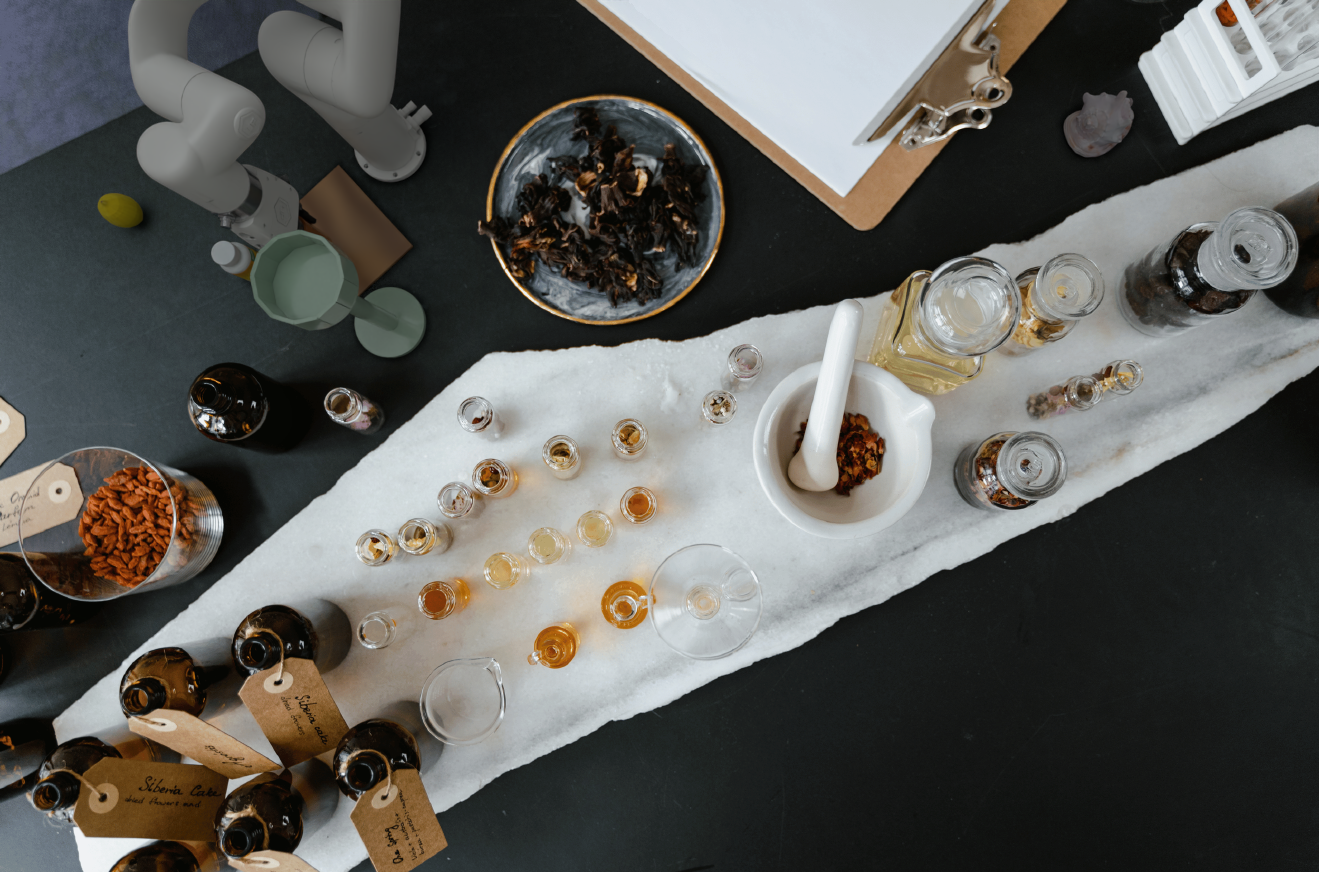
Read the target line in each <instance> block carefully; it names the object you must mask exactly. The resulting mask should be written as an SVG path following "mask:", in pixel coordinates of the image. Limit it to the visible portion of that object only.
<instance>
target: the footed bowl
mask: <svg viewBox="0 0 1319 872" xmlns="http://www.w3.org/2000/svg"><path fill="white" fill-rule="evenodd" d="M257 252H259V253H257V255H256V258H255V261H254V264H253V267H252V270H251V273H250V275H251V276H250V280H251V282H250V284H251V289H252V294H253V299H254V301H255V302H256V303H257V304H258V306H260V308H261V309H262V310H263V311H264V312H265V314H267V316H269V318H271V319H273V320H276V321H279V322H281V323H284V324H287V325H289V326H293V327H296V328H298V329H299V328H300V329H303V330H306V331H319V330H325V329H329V328H331V327H333V326H335V325H338V323H341V322H342V321H343V320H345V318H346V317H347V316H348V315H351V316H353V317H354V330H355V335H356V337H357V339H358V341H359V343H360V344H361V345H362V347H363V348H364V349H365V350H367V351H368V352H369V353H371V354H373V355H375V356H377V357H381V358H385V359H396V358H400V357H405V356H406V355H408V354H410V353H412V351H414V350H415V349H416V348H417V347H418V346H419V345H420V343H421V342H422V340H423V338H424V336H425V333H426V329H427V317H426V312H425V310H424V309H425V308H424V307H423V305H422V303H421V302H420V301H419V299H418V298H417V297H416V296H415V295H414V294H412V293H411V292H409V291H407V290H406V289H402V288H400V287H395V286H394V287H393V286H385V287H381V288H378V289H376V290H373V291H372V292H370V293H368V295H366V296H365V297H364V298H363V296H361V295H360V296H358V291H359V279H358V274H357V270H356V268H355V266H354V264H353V262H352V260H351V259H350V258H349V257H348V255H346V254H345V253H344V252H343V251H342V250H341V249H340V247H338V246H337V245H335V244H334V243H332V242H331V241H329V240H327V239H326V238H324V237H323V236H320V235H316V234H313V233H310V232H306V231H303V230H296V231H292V232H287V233H283V234H279V235H277V236H275V237H273V238H272V239H271V240H270V241H269V242H268V243H267V244H266V245H265V246H264V247H263V248H261V249H258V251H257Z"/></svg>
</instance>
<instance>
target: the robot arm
mask: <svg viewBox="0 0 1319 872" xmlns="http://www.w3.org/2000/svg"><path fill="white" fill-rule="evenodd" d="M209 1H210V0H134V2H133V4H132V5H131V9H130V11H129V15H128V22H127V40H128V41H127V42H128V56H129V57H128V59H129V69H130V75H131V78H132V83H133V86H134V89H135V92H136V93H137V95H138V97H139V98H140V100H141V102H142V103H143V104H144V105H145V106H146V107H147V108H148V109H149V110H150V111H152V112H153V113H154V114H156V115H158V116H160V117H162V118H164V119H166V120H168V121H161V122H158V123H157V122H156V123H154V124H152V125H150V126H149V127H148V128H146V129H145V130H144V131H143V132H142V134H141V135H140V136H139V139H138V141H137V144H136V159H137V162H138V164H139V166H140V167H141V169H142V170H143V172H144V173H145V174H146V175H147V176H148V177H149V178H150V179H152V180H153V181H155V182H156V183H158V184H160V185H162V186H164V187H165V188H167V189H169V190H170V191H172V192H174V193H176V194H178V195H180V196H181V197H184V198H185V199H187V200H189V201H190V202H193V203H194V204H196V205H198V206H200V207H202V208H203V209H205V210H207V211H208V212H210V214H211V215H213V216H215V217H217V219H218V220H219V222H220V225H219V226H220V228H221V229H225V230H230V231H232V232H233V234H235V235H236V236H238V237H239V238H240V239H242V240H243V241H244V242H246V243H248V244H249V245H250V246H253V247H254V248H256V249H258V250H260V249H261V248H263V247H264V246H265V245H266V244H267V243H268V242H269V241H270V240H271V239H272V238H273V237H275V236H277V235H279V234H283V233H287V232H292V231H296V230H297V227H298V215H299V216H300V217H302V218H303V219H305V220H306V221H308V222H309V223H311V224H315V223H316V220H317V219H315V218H314V217H312V216H311V215H310V214H309V213H308V212H307V211H306V210H304V209H303V208H302V204H301V203H300V202H299V201H300V196H299V193H298V191H297V189H296V188H295V187H293V185H291V182H290V179H289V176H288V174H287V173H277V174H273V173H271V172H268V171H266V170H264V169H262V168H259V167H257V166H254V165H252V164H248V163H244V164H243V163H242V164H241V163H240V162H239V161H237V159H239V157H241V156H242V155H243V154H244V152H246V150H248V148H249V147H251V145H252V144H253V143H254V142H255V141H256V140H257V138H258V137H259V135H261V133H262V130H263V129H264V126H265V122H266V109H265V106H264V103H263V102H262V100H261V99H260V98H259V96H257V94H255V93H254V92H253V91H252V90H250V89H248V88H247V87H245V86H244V85H241V84H240V83H239V84H238V83H237V82H235V81H233V80H230V79H228V78H226V77H224V76H222V75H219V74H217V73H215V72H214V71H211V70H209V69H208V68H204V67H203V66H201V65H198V64H196V63H194V62H192V61H190V60H189V53H188V52H189V51H188V35H189V28H190V25H191V24H190V23H191V21H192V19H193V17H194V15H195V13H196V12H197V10H198V9H199V8H200V7H202V5H203V4H205V3H207V2H209ZM295 1H296V2H297V3H300V4H302V5H303V6H305V7H307V8H310V9H312V10H313V11H316V12H318V13H320V14H323V15H324V16H327V17H329V18H331V19H333V20H334V21H337V22H339V23H341V25H342V26H341V27H342V30H341V29H339V28H338V27H335V26H333V25H331V24H329V23H326V22H325V21H322V20H320V19H318V18H316V17H313V16H310V15H308V14H306V13H303V12H299V11H295V10H278V11H275V12H273V13H271V14H269V15H268V16H267V17H266V18H265V19H264V20H263V21H262V23H261V25H260V27H259V30H258V34H257V46H258V47H257V48H258V51H259V52H258V53H259V56H260V58H261V60H262V63H263V64H264V66H265V68H266V70H268V72H269V74H270V75H271V76H272V77H273V78H274V79H275V80H276V81H277V82H278V83H279V84H280V85H282V86H283V87H284V88H285V89H287V90H288V91H289V92H290V93H292V94H293V95H295V96H296V97H297V98H298V99H300V100H301V101H302V102H304V103H306V105H308V106H309V107H310V109H312V110H314V112H315V113H317V114H318V115H319V116H320V117H321V118H322V119H323V120H324V121H325V122H326V123H327V124H328V125H329V126H330V127H331V128H332V129H333V130H334V131H335V132H336V133H337V134H339V135H340V136H341V137H342V139H343V140H344V141H346V143H348V145H350V146H351V147H352V148H353V149H354V155H355V159H356V161H357V164H359V166H360V168H361V169H362V170H363V171H364V173H366V174H367V175H369V176H370V177H371V178H373V179H375V180H377V181H380V182H383V183H396V182H400V181H403V180H406V179H407V178H409V177H411V176H412V175H413V174H415V173H416V172H417V171H418V170H419V168H420V167H421V166H422V164H423V162H424V160H425V157H426V153H427V141H426V135H425V134H424V131H423V129H422V128H421V125H422V124H423V123H424V122H426V121H427V120H428V119H429V118H430V117H432V116H433V113H432V111H431V110H430V109H429V107H428V106H427V105H426V104H424V105H422V106H421V107H419V109H418V110H416V109H417V108H418V106H417V104H415V103H414V102H413V101H412V100H410V101H409V102H408V103H406V104H405V106H404V107H403V108H399V109H397V108H396V107H395V106H394V105H393V104H391V100H392V97H393V93H394V88H395V83H396V82H395V81H396V72H397V61H398V60H397V59H398V50H399V49H398V48H399V37H400V36H399V35H400V34H399V33H400V27H401V26H400V24H401V11H402V9H401V8H402V0H295ZM415 110H416V112H415V113H414V114H413V115H412V116H411V115H410V114H411V113H413V112H414V111H415Z"/></svg>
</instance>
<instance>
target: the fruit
mask: <svg viewBox="0 0 1319 872" xmlns="http://www.w3.org/2000/svg"><path fill="white" fill-rule="evenodd" d="M97 209H98V212H99V213H100V215H101V216H102V218H103V219H105V221H107V222H108V223H110V224H111V225H113V226H116V227H118V228H125V229H129V228H130V229H131V228H133V227H136V226H138V225H139V224H140V223H142V222H143V221H144V213H143V209H142V207H141V206H140V204H139V203H138V202H137V201H136V200H135V199H134V198H133V197H130V195H126V194H123V193H119V192H118V193H117V192H110V193H105V194H104V195H102V196H101V197H99V199H98V201H97Z"/></svg>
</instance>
